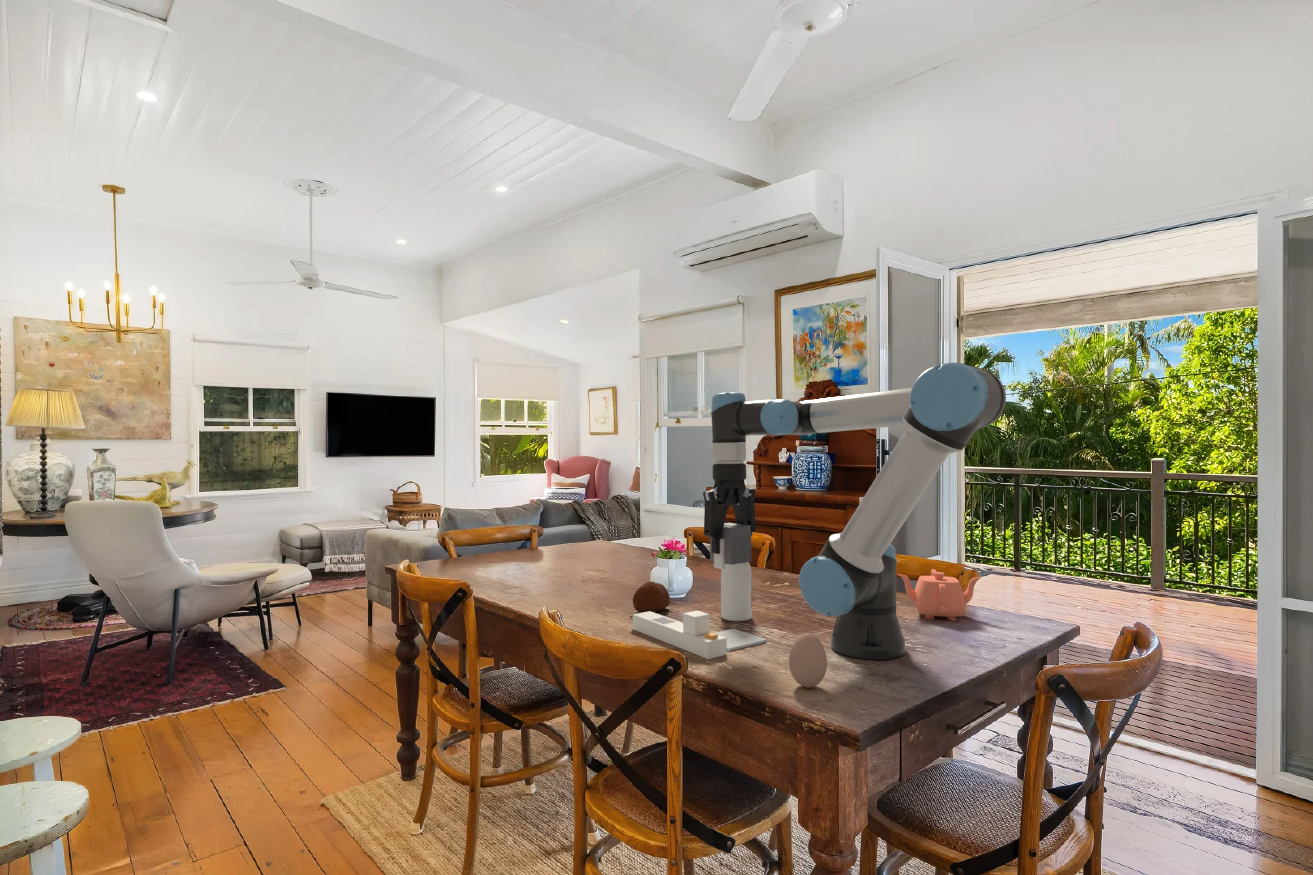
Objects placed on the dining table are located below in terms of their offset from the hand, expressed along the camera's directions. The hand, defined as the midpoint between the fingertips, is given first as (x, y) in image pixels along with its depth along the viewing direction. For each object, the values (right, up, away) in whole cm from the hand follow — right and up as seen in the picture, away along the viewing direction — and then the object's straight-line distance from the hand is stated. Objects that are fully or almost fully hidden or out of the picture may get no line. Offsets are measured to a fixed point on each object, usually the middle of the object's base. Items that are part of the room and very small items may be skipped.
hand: (730, 566), depth 158 cm
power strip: (-12, -17, 0) cm, 21 cm away
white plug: (-8, -13, -6) cm, 16 cm away
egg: (+11, -17, -29) cm, 35 cm away
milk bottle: (+4, -17, +20) cm, 26 cm away
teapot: (+55, -16, +22) cm, 61 cm away
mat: (0, -17, 0) cm, 17 cm away
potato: (-17, -17, +27) cm, 36 cm away
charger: (0, +1, 0) cm, 1 cm away
